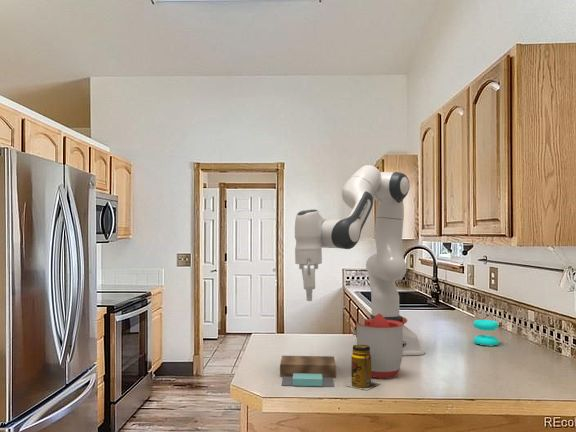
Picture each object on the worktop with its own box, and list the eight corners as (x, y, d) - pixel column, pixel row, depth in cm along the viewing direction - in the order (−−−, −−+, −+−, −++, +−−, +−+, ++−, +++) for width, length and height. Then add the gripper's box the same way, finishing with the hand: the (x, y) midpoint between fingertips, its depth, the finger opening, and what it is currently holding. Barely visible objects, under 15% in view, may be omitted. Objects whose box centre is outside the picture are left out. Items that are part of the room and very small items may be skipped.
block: (322, 379, 148) (322, 386, 148) (322, 373, 154) (321, 380, 154) (292, 378, 148) (292, 385, 148) (293, 373, 154) (293, 379, 154)
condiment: (345, 386, 149) (345, 346, 150) (360, 379, 156) (360, 341, 156) (366, 390, 145) (366, 349, 145) (380, 384, 151) (380, 345, 152)
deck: (334, 368, 169) (334, 356, 170) (335, 377, 157) (335, 365, 158) (282, 367, 170) (282, 355, 170) (280, 376, 158) (280, 364, 158)
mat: (332, 378, 157) (332, 377, 157) (334, 386, 148) (334, 385, 148) (283, 377, 158) (283, 376, 158) (281, 385, 149) (281, 384, 149)
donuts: (468, 319, 213) (486, 318, 216) (468, 343, 212) (487, 341, 216) (484, 323, 204) (503, 322, 207) (485, 347, 203) (504, 346, 206)
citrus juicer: (366, 364, 174) (366, 308, 175) (411, 373, 163) (411, 313, 164) (342, 373, 162) (342, 313, 163) (389, 384, 151) (389, 318, 152)
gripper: (319, 259, 152) (320, 304, 151) (317, 257, 172) (318, 296, 171) (298, 260, 152) (299, 305, 151) (299, 257, 172) (299, 296, 172)
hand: (309, 300), depth 161 cm, fingers closed
